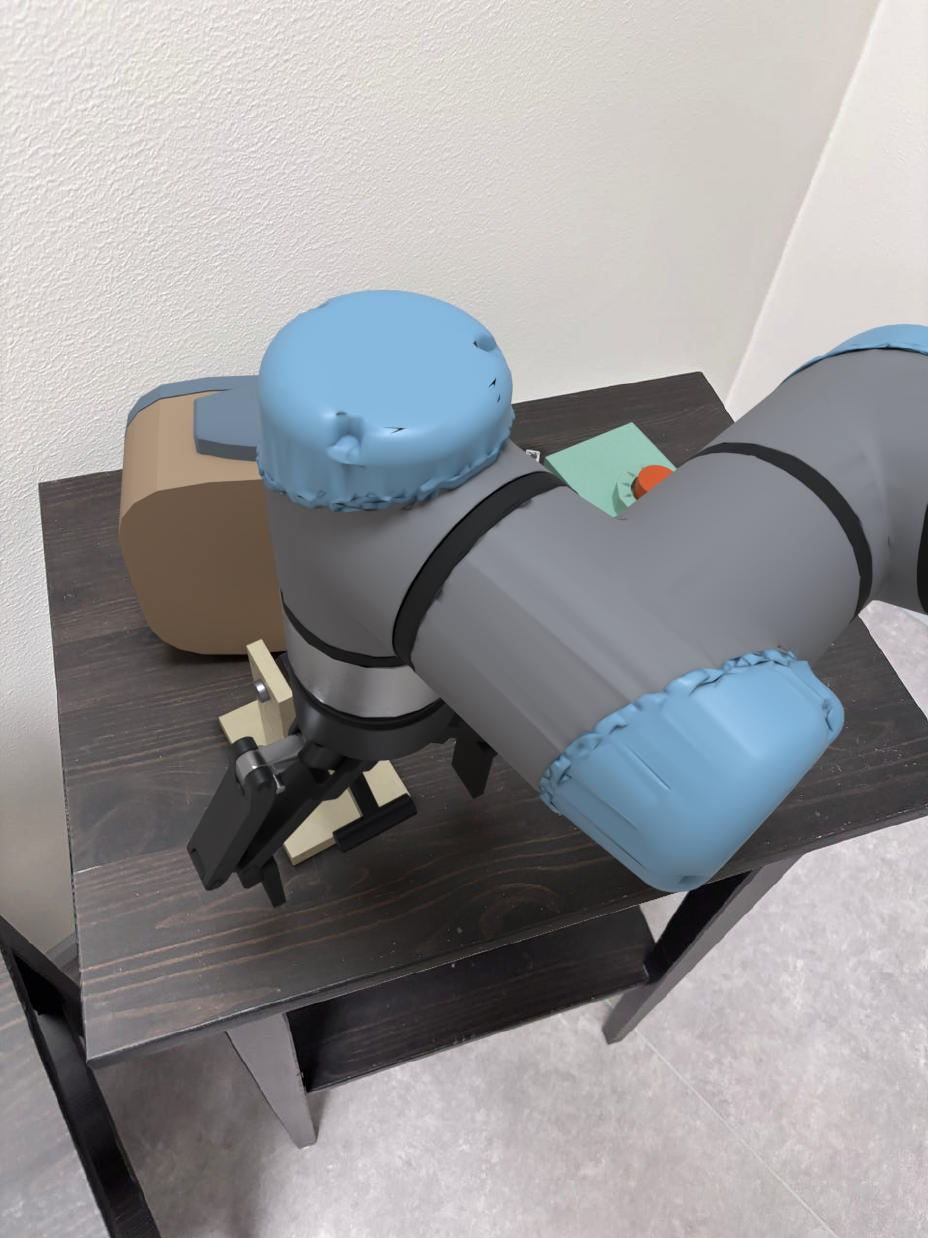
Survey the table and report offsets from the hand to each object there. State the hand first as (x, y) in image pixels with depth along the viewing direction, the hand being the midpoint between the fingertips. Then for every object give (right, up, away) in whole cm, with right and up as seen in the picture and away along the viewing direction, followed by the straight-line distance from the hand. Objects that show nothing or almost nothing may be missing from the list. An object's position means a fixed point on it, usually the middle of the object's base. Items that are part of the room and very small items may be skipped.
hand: (373, 830), depth 56 cm
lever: (-2, +5, 0) cm, 6 cm away
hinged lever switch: (-5, +2, +10) cm, 11 cm away
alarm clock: (-8, +14, +18) cm, 24 cm away
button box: (+20, +24, +27) cm, 41 cm away
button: (+22, +24, +23) cm, 40 cm away
